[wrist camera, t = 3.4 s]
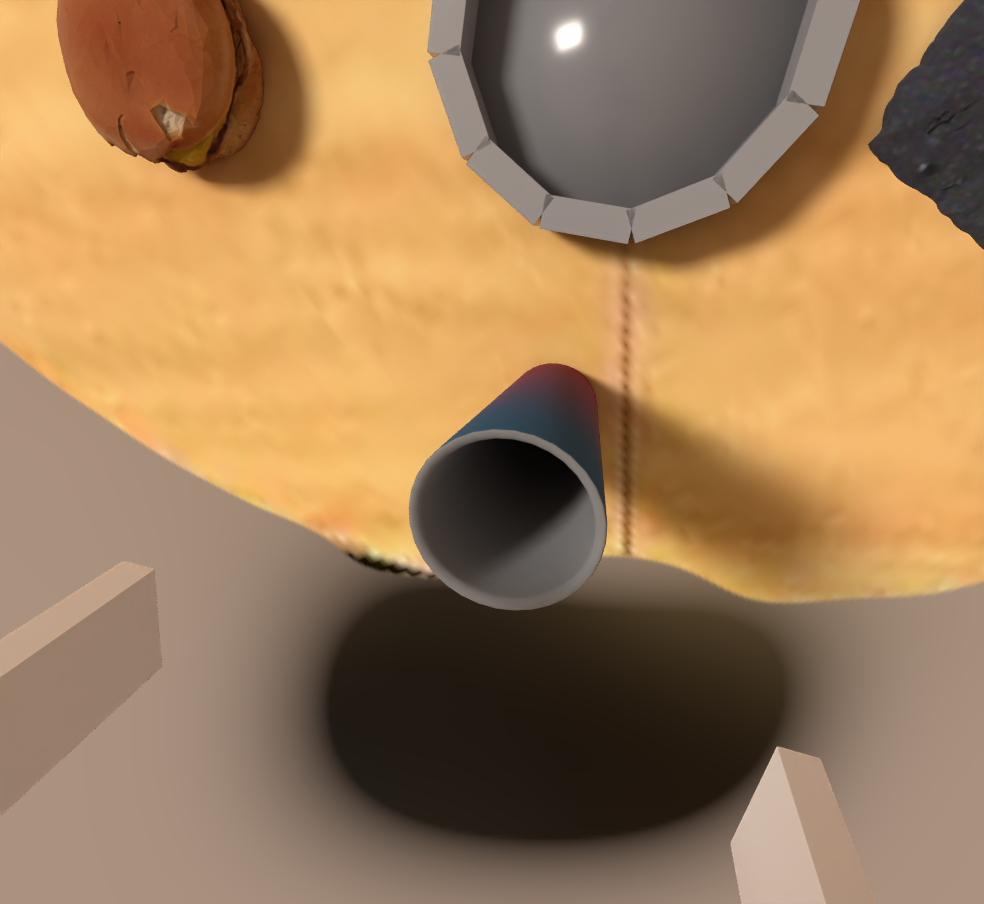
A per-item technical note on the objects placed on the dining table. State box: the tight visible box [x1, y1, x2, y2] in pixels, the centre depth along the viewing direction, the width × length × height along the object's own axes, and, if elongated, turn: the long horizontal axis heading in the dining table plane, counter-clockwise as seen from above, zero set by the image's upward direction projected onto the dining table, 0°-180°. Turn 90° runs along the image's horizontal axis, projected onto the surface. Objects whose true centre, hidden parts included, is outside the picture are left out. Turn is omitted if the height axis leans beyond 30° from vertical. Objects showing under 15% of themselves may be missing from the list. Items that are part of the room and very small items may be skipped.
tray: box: [427, 0, 860, 244], centre depth 25 cm, size 17×17×3 cm
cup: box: [409, 363, 607, 610], centre depth 26 cm, size 7×7×15 cm
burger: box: [57, 0, 263, 173], centre depth 29 cm, size 10×9×5 cm
